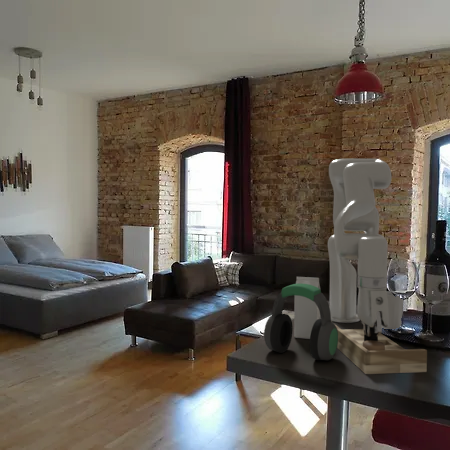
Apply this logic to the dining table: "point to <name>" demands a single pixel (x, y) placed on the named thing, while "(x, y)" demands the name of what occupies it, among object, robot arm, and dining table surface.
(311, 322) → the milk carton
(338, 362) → the dining table surface
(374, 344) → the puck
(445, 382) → the dining table surface
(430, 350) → the dining table surface
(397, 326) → the cup
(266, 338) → the headphones
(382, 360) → the wooden compartment tray
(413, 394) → the dining table surface
